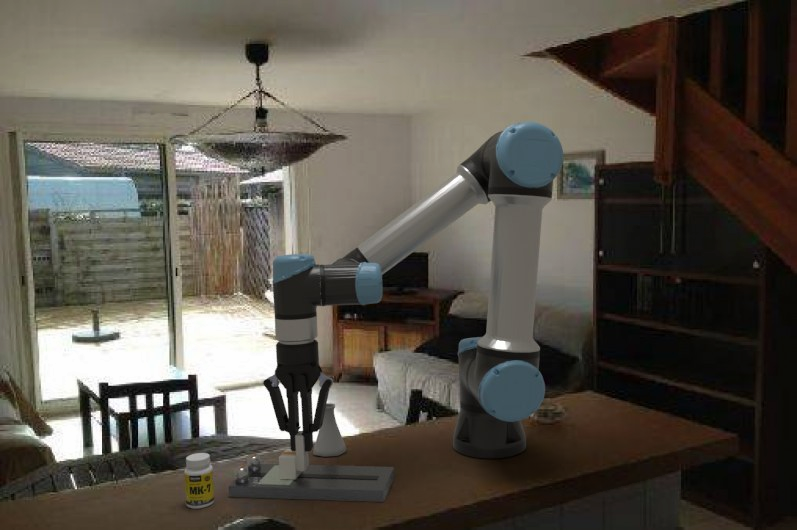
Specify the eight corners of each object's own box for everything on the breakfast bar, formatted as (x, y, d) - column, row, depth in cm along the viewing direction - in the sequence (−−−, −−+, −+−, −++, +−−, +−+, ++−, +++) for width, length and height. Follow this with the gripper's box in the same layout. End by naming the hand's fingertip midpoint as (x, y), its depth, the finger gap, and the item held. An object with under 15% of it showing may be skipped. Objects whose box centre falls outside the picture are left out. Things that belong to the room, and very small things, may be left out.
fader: (303, 470, 128) (302, 448, 127) (295, 479, 123) (294, 456, 123) (287, 469, 128) (286, 447, 128) (279, 479, 124) (278, 456, 123)
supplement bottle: (187, 511, 117) (184, 463, 116) (184, 501, 121) (181, 454, 120) (216, 505, 119) (213, 458, 118) (212, 495, 123) (209, 450, 122)
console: (394, 477, 128) (393, 453, 128) (383, 502, 117) (382, 475, 117) (252, 473, 133) (250, 450, 133) (229, 496, 122) (227, 471, 122)
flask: (341, 458, 139) (339, 410, 139) (307, 457, 141) (305, 409, 140) (351, 446, 146) (349, 400, 146) (318, 445, 148) (316, 400, 147)
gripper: (337, 336, 126) (342, 461, 128) (269, 336, 128) (275, 459, 130) (326, 344, 119) (332, 477, 120) (254, 344, 121) (261, 475, 123)
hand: (302, 468), depth 125 cm, fingers closed
